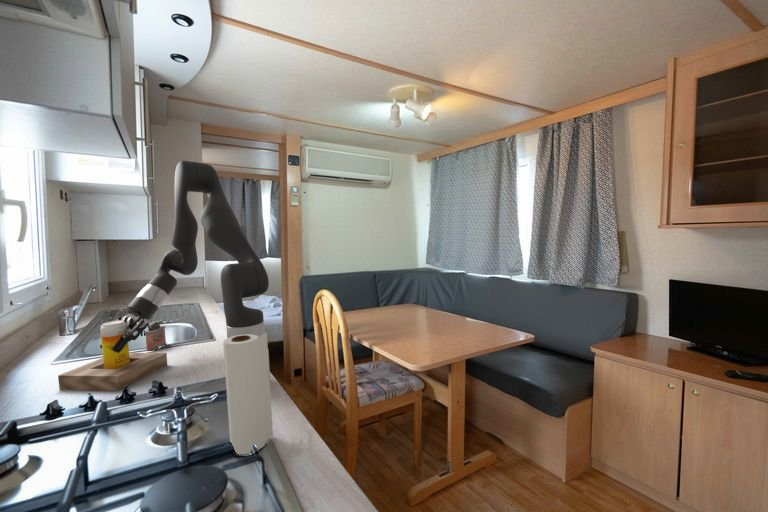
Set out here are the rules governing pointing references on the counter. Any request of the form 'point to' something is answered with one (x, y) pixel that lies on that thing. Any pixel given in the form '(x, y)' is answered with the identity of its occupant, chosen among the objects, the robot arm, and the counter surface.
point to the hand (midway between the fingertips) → (109, 350)
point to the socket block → (112, 373)
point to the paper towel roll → (248, 391)
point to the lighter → (155, 336)
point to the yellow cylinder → (109, 338)
